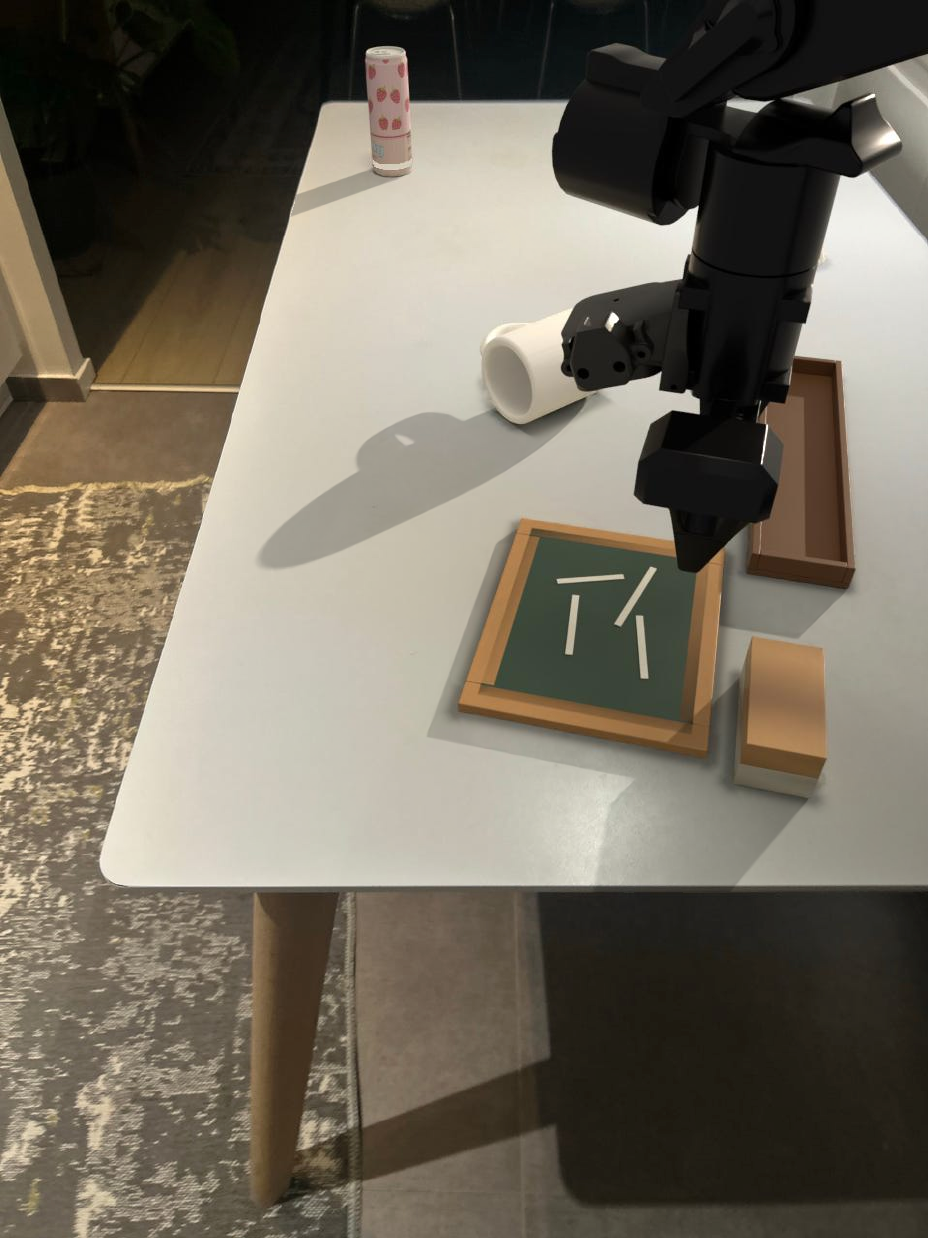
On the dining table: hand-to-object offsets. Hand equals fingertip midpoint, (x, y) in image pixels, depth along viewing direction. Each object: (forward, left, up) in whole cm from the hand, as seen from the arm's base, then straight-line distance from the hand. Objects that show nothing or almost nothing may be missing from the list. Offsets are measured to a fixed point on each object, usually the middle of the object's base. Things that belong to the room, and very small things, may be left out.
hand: (699, 519), depth 53 cm
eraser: (-7, +4, -13) cm, 16 cm away
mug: (+16, -33, -14) cm, 39 cm away
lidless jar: (-9, -70, -14) cm, 72 cm away
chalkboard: (+5, -3, -13) cm, 15 cm away
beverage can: (+48, -89, -14) cm, 102 cm away
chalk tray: (-9, -27, -13) cm, 32 cm away
